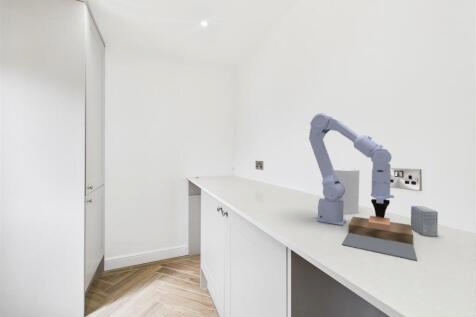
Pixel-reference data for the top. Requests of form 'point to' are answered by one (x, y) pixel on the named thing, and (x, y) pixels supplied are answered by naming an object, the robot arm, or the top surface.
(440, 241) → the top surface
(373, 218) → the tan rectangular slab
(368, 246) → the mat
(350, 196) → the canister
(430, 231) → the medicine box
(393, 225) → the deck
